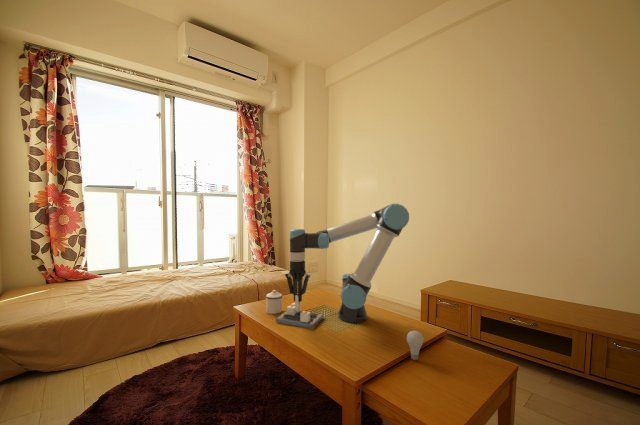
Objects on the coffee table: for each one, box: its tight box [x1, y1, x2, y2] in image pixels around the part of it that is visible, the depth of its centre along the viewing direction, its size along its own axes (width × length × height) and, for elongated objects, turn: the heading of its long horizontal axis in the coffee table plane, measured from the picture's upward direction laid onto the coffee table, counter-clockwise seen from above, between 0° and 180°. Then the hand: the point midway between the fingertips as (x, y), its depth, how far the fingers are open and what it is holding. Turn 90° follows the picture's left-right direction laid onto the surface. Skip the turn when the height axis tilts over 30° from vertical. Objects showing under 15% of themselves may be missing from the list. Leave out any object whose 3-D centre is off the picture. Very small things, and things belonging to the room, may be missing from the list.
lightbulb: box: [406, 330, 425, 361], centre depth 106 cm, size 6×6×11 cm
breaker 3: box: [300, 310, 311, 323], centre depth 136 cm, size 4×3×4 cm
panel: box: [275, 310, 324, 330], centre depth 143 cm, size 20×15×3 cm
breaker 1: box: [286, 305, 296, 316], centre depth 144 cm, size 4×3×4 cm
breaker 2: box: [290, 302, 301, 312], centre depth 149 cm, size 4×3×4 cm
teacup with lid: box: [265, 289, 283, 315], centre depth 155 cm, size 12×9×12 cm
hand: (297, 307), depth 138 cm, fingers closed
